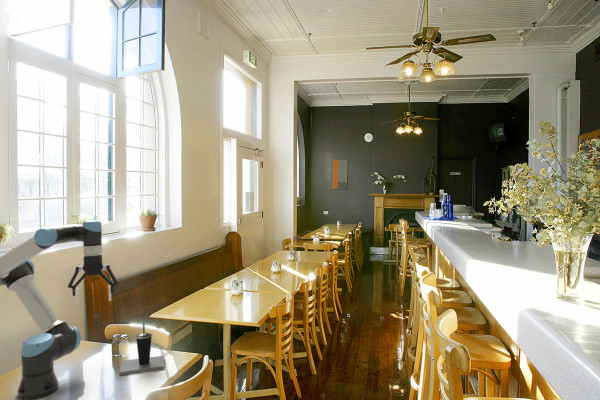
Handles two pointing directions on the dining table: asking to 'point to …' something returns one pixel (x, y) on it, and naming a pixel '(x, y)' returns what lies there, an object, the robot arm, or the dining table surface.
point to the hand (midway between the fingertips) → (93, 301)
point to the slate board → (135, 367)
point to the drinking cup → (144, 346)
